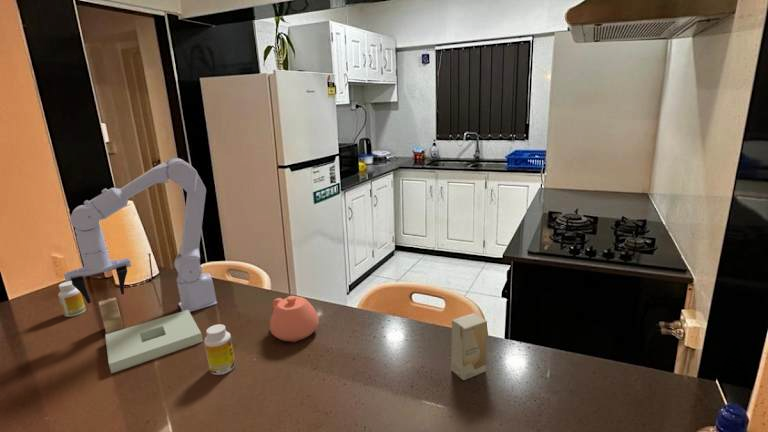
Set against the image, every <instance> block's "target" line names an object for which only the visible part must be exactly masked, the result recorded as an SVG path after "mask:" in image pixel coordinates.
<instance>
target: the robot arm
mask: <svg viewBox="0 0 768 432" xmlns="http://www.w3.org/2000/svg"><path fill="white" fill-rule="evenodd" d="M169 179H170V180H171V181H172V182H173V183H175V184H177V185H179V186H180V187H181V188H182V189H183V190H184V191H185V192H186V201H185V208H184V210H185V211H184V220H183V226H182V234H181V235H182V237H181V244H180V247H179V249H178V254H177V256H176V258H175V260H174V263H173V265H174V268H175V270H176V271H177V277H176V283H177V289H178V293H179V298H180V302H178V306H179V308H180V309H181V312H182V311H185V310H189V312H190V313H191V312H194V311H199V310H201V309H204V308H208V307H211V306H215V305H217V304H218V302H217V297H216V291H215V287H214V286H215V285H214V282H213V278H212V276H211V274H210V273H203V268H202V265H201V254H200V253H201V252H200V245H201V244H200V242H201V236H202V227H203V219H204V211H205V203H206V194H207V188H206V186H205V184H204V183H203V180H202V179H201V176H200V175H199V174H198V171H197V169H195V168H194V167H193V165H191V164H190V163H189V162H187V161H185V160H184V159H182V158H179V157H173V158H170V159H168V160H167V161H166V162H161V163H160V164H157V165H156V166H153V167H152V168H150V169H149V170H147V171H146V172H144V173H143V174H141V175H140V176H138V177H136V178H135V179H133V180H132V181H130V182H129V183H127V184H126V185H123V187H120V188H118V187H117V188H116V187H110V188H109V189H107V188H106V187H105V188H103V189H102V190H101V193H100V194H98V195H97V196H95V197H93V198H92V199H90V200H88V199H86V200H84V202H83V204H81V205H77V207H75V208H74V209H73V210H72V213H71V215H70V223H71V225H72V226H73V227H74V232H75V235H76V241H77V245H78V249H79V252H80V255H81V259H82V262H83V267H80V268H77V269H74V270H70V271H67V272H63V274H64V275H63V276H64V279H65V282H68V281H72V285H73V286H74V287H75V288H77V289H78V290H79V291H80V292H81V294H82V297H84V299H85V301H86V303H87V305H88V304H91V303H92V299H91V297H90V294H89V291H88V288H87V285H86V282H85V277H89V276H93V275H97V274H101V273H106V272H111V271H114V270H115V271H116V275H117V280H118V283H119V284H118V285H119V291H120V294H121V295H125V282H126V277H127V274H128V268H130V267H132V265H131V264H132V263H131V261H130V258H129V257H128V258H122V259H115V260H110V255H109V251H108V248H107V245H106V240H105V236H104V233H103V231H102V230H101V225H100V221H101V220H105V219H107V218H109V217H111V216H112V215H114V214H115V213H117V212H119V211H121V210H122V209H123V208H126V207H127V206H128V203H129V199H130V198H132V197H134V196H135V195H137V194H140V193H141V192H143V191H144V190H147V189H148V188H150V187H151V186H154V185H155V184H169V183H170V182H169Z"/></svg>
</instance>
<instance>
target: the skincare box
mask: <svg viewBox="0 0 768 432" xmlns="http://www.w3.org/2000/svg"><path fill="white" fill-rule="evenodd" d="M487 325H488V321H487V320H486V319H485V318H484V317H482V316H481V315H479V314H478V313H476V312H473V313H472V312H471V313H469V314H466V315H462V316H460V317H456V318H453V319H451V360H450V361H451V366H450V368H451V369H450V370H451V372H453V373H454V374H455V375H456V376H458V377H459V378H460V379H461V380H463V381H465V380H469V379H470V378H473V377H475V376H478V375H481V374H482V373H485V372H486V366H487V364H486V363H487V337H488V336H487V333H488V332H487V329H488V328H487V327H488V326H487Z"/></svg>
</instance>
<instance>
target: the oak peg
mask: <svg viewBox="0 0 768 432" xmlns="http://www.w3.org/2000/svg"><path fill="white" fill-rule="evenodd" d="M98 308H99V311H100V315H101V319H102V323H103V326H104V330H105V335H106V334H109V333H113V332H116V331H119V330H122V329H124V325H123V321H122V316H121V313H120V308H119V306H118V301H117V297H112V298H109V299H105V300H104V299H103V300H100V301H98Z"/></svg>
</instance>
